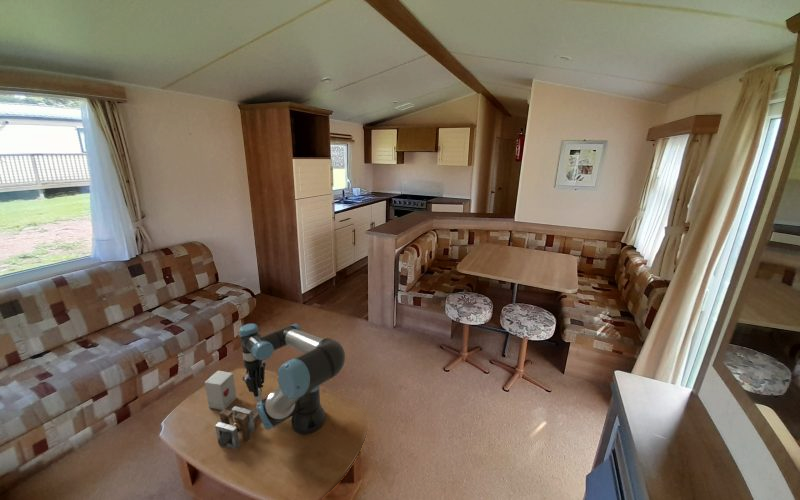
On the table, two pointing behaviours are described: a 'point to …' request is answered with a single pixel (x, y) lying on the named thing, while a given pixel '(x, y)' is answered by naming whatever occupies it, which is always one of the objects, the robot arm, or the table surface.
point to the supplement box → (220, 390)
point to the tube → (228, 435)
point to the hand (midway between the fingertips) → (258, 399)
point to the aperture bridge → (239, 417)
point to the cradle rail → (255, 412)
